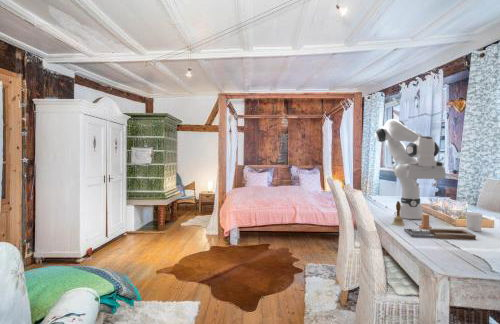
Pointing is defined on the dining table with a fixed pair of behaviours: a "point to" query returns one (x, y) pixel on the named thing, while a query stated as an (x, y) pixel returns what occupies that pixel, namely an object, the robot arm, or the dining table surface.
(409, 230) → the tray
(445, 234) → the slot board
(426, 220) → the stepped wedge block
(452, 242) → the dining table surface
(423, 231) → the light grey block
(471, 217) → the white cup
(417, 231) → the grey square block
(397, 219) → the hand bell
